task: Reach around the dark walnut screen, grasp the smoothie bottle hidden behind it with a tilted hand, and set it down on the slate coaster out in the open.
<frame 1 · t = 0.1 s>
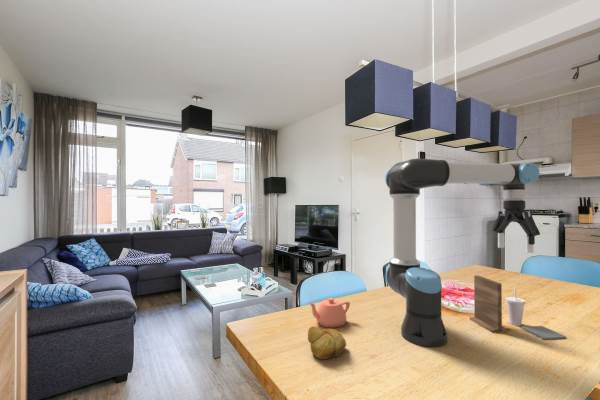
hand: (514, 250, 121), 28 cm above the table, tool pointing down, fingers open, 13 cm apart
bread roll: (329, 353, 91), on the table
coaster: (542, 333, 105), on the table
screen: (487, 325, 111), on the table
teapot: (329, 322, 114), on the table
smoothie: (515, 324, 113), on the table
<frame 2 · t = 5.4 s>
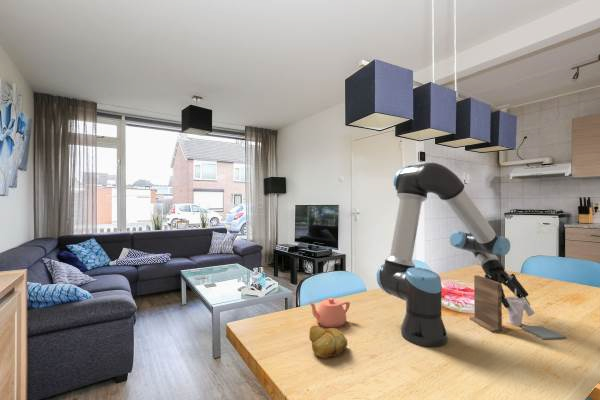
hand: (523, 314, 109), 5 cm above the table, tool tilted 45°, fingers closed on smoothie, 6 cm apart
smoothie: (515, 324, 113), on the table, touching gripper
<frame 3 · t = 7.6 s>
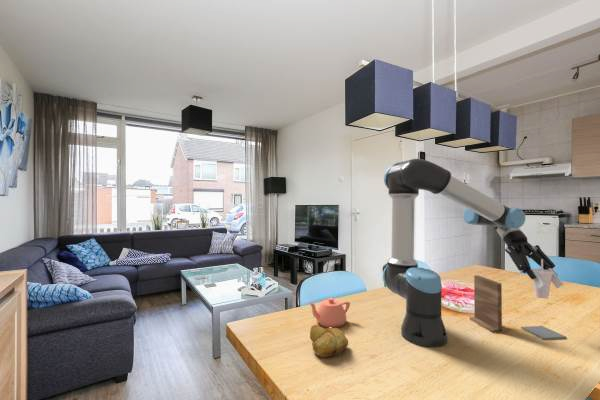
hand: (551, 286, 101), 18 cm above the table, tool tilted 45°, fingers closed on smoothie, 6 cm apart
smoothie: (541, 297, 105), point 13 cm above the table, touching gripper
when the fingers open (7 cm above the table, at t = 10.0 s): smoothie drops 1 cm, resting on coaster.
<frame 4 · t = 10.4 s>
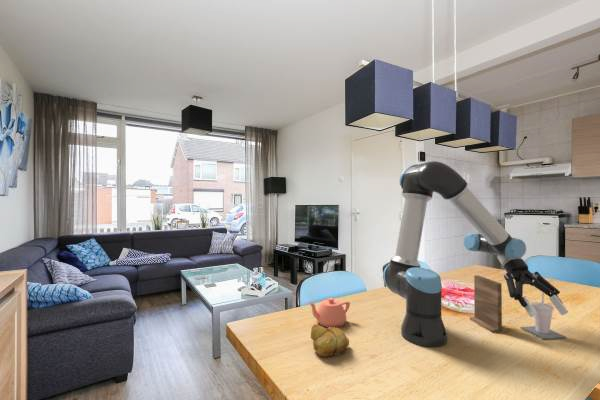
hand: (549, 314, 102), 8 cm above the table, tool tilted 45°, fingers open, 12 cm apart
smoothie: (542, 331, 105), resting on coaster
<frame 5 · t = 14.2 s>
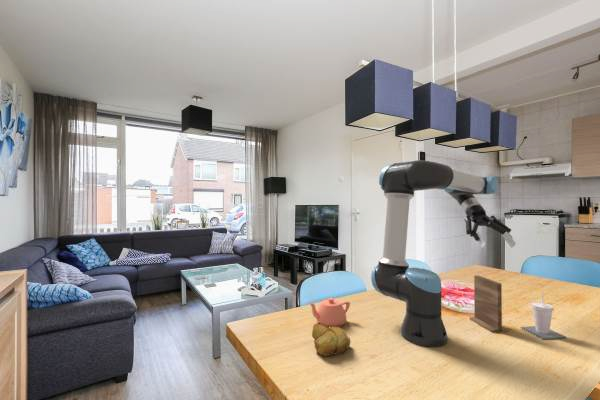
hand: (499, 246, 121), 30 cm above the table, tool tilted 45°, fingers open, 13 cm apart
at the end: smoothie 0.1 cm from the coaster (horizontally); smoothie tilted 0°; the gripper is holding nothing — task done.
